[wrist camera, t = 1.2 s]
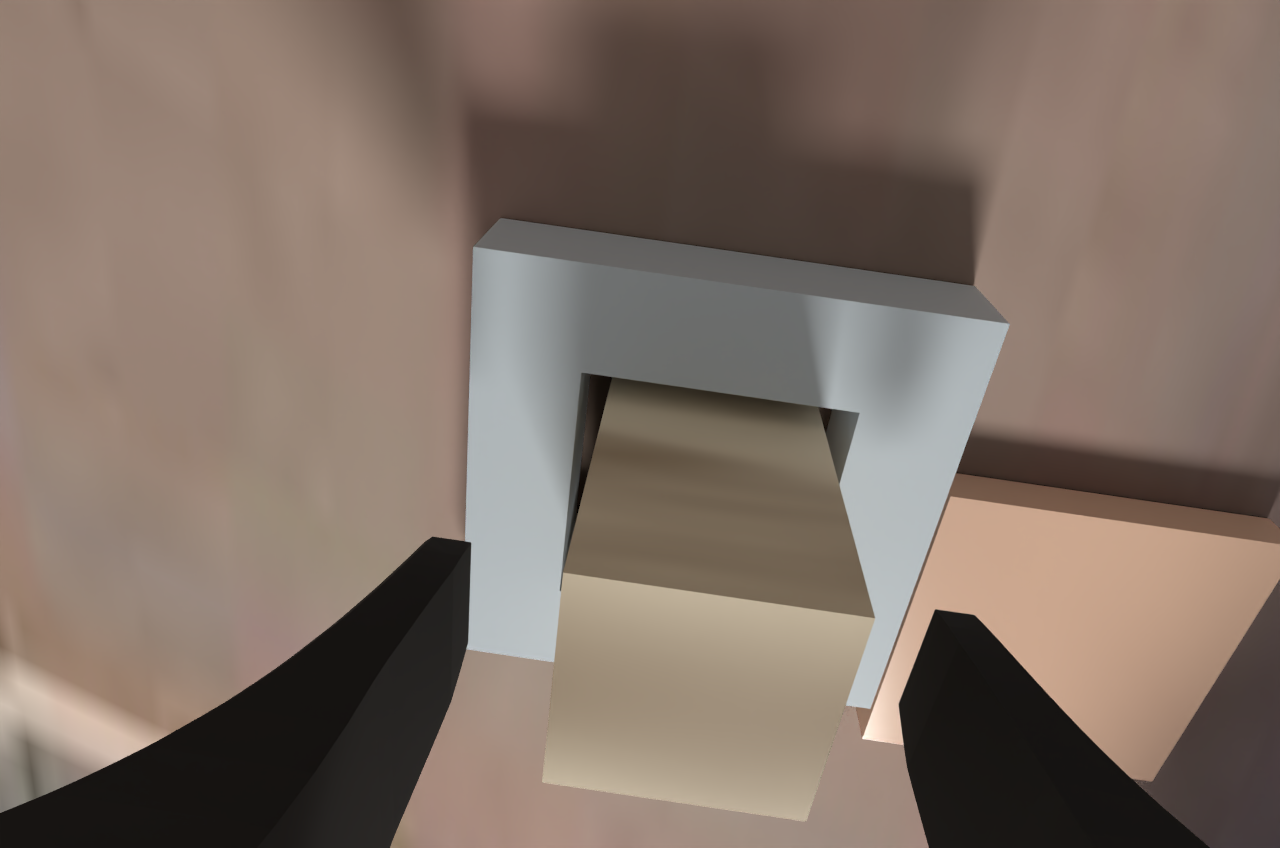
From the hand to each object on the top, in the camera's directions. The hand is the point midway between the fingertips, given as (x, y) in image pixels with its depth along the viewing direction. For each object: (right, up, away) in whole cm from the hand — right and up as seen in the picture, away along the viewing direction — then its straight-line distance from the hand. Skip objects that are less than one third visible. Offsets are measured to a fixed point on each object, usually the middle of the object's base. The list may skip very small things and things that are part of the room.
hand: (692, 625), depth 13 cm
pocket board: (0, +2, +5) cm, 5 cm away
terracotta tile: (+8, -1, +6) cm, 11 cm away
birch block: (0, +2, +5) cm, 5 cm away
